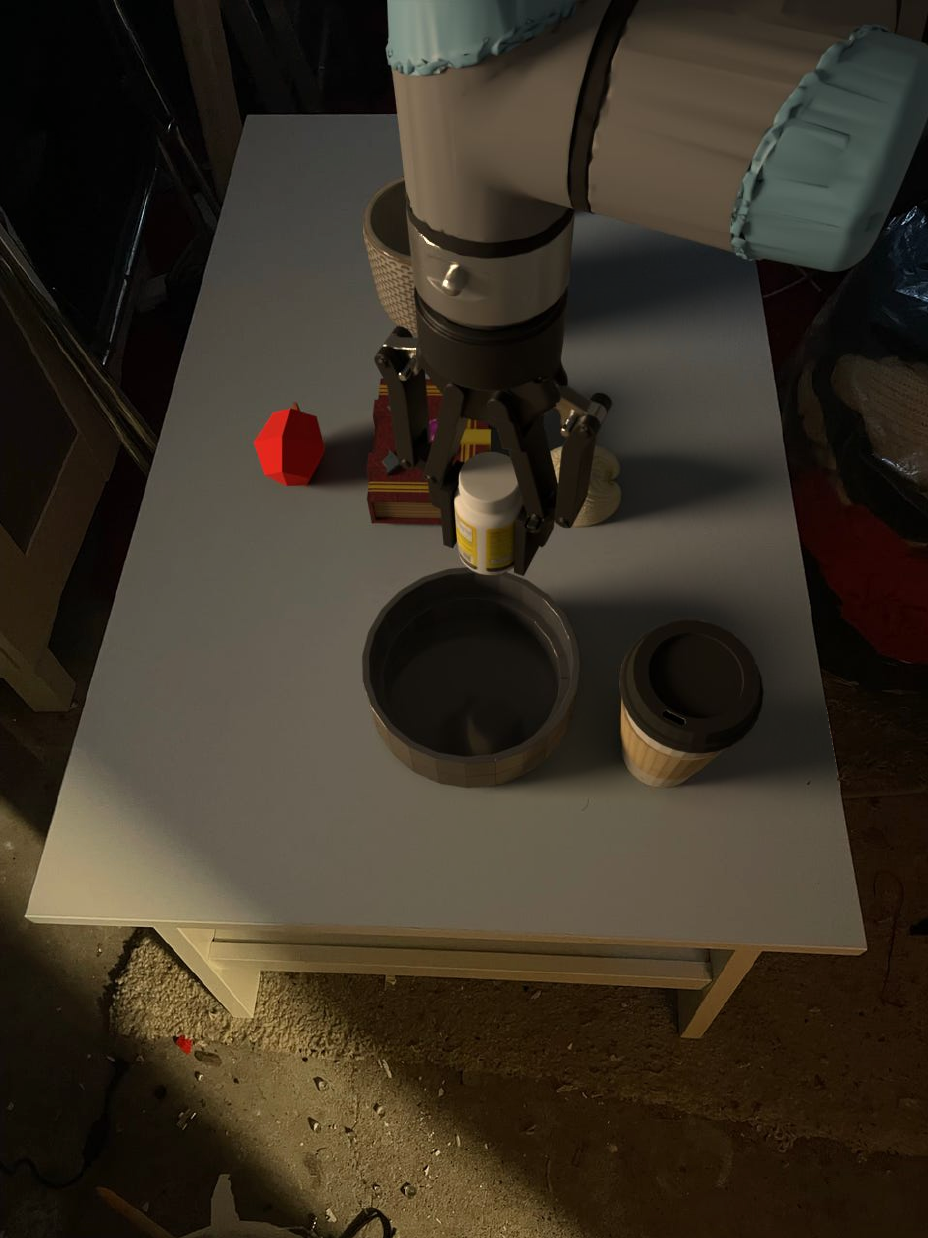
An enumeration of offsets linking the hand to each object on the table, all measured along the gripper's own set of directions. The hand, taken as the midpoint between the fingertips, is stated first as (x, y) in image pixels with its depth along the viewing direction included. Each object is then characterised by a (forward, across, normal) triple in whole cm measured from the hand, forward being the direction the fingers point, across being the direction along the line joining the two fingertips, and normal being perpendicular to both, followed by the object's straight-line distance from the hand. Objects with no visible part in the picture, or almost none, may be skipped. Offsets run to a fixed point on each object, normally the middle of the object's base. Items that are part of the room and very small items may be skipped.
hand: (491, 545), depth 63 cm
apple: (+17, -26, +10) cm, 33 cm away
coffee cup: (+17, +16, -3) cm, 24 cm away
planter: (+17, -22, +34) cm, 44 cm away
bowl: (+17, 0, -4) cm, 17 cm away
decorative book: (+17, -14, +16) cm, 27 cm away
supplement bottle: (+1, 0, 0) cm, 1 cm away
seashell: (+17, 0, +19) cm, 25 cm away
